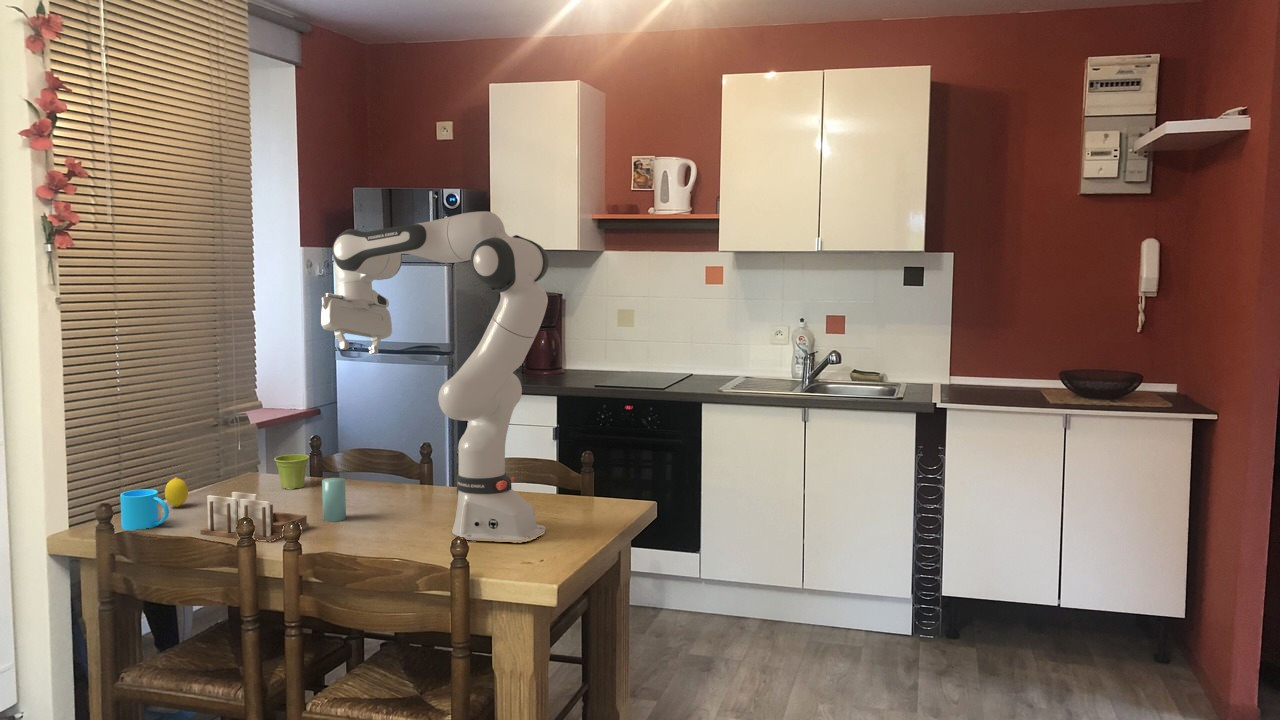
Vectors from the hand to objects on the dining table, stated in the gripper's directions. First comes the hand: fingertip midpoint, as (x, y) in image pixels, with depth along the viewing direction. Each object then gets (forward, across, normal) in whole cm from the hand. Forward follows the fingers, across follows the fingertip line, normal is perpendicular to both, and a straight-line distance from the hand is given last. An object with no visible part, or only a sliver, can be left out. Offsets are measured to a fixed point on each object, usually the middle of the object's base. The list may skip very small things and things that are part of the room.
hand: (359, 351), depth 250 cm
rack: (+40, -14, +25) cm, 50 cm away
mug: (+35, -27, +50) cm, 66 cm away
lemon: (+29, -12, +59) cm, 67 cm away
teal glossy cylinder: (+39, +4, +18) cm, 43 cm away
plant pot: (+25, +20, +53) cm, 62 cm away
